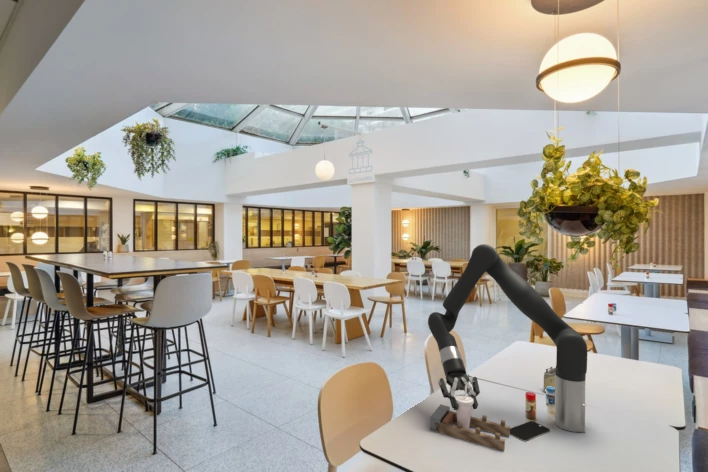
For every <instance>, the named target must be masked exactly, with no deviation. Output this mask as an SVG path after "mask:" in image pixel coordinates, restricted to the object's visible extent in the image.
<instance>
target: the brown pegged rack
mask: <svg viewBox="0 0 708 472" xmlns="http://www.w3.org/2000/svg"><path fill="white" fill-rule="evenodd" d="M487 419H488V417H487V415H482V418H479V417H475V416H471V418H470V425H469V429H465V428H462V423H460V422H457V413H456V411H452V410H450V411H449V412H448V414H447V415H446V416H445V418H444V419H443V420H442V422H441V423H440V425H437V426H438V428H439V429H438V430H439V431H438V430H437V428H436V427H437V426H436V423H435V426H436V427H435V431H434V432H437V433H439V432H440V433H441V434H444V435H447V436H450V437H454V438H457V439H460V440H464V441H467V442H471V443H474V444H478V445H481V446H484V447H487V448H491V449H494V450H498V451H501V452H505V449H506V448H505V447H506V439H505V438H509V437H510V436H511V435H510V428H511V427H510V426H509V425H507V424H506V420H503V419H501V420H500V423H498V422H495V421H492V420H491V421H490V420H487ZM454 423H455V424H456V425H453V424H454ZM437 424H438V423H437ZM470 428H474V429H475V430H472V429H470ZM436 430H437V431H436ZM481 431H484V432H488V433H491V434H495V436H494V435H490V434H488V433H487V434H486V433H483V432H481ZM501 436H503V437H505V438H501Z"/></svg>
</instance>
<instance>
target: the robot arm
mask: <svg viewBox="0 0 708 472" xmlns="http://www.w3.org/2000/svg"><path fill="white" fill-rule="evenodd" d="M485 273H487V274H488V275H489V276H490V277H491V278H492V279H493V280H494V281H495V282H496V283H497V284H498V286H499V288H500V289H501V291H502V292H503V293H504V295H506V297H507V298H508V299H509V301H510V302H511V303H512V304H513V305H514V306H515V307H516V308H517V309H518V310H519V311H520V312H521V313H522V314H523V315H524V316H526V317H527V318H528V319H529V320H530V321H532V322H534V323H535V324H536V325H538V326H539V327H540V328H541V329H542V330H543V331H544V332H545V333H546V334H547V335H548V337H549V338H550V339H551V341H552V342H553V343H554V345H555V346H556V357H555V358H556V363H555V367H554V368H555V392H554V424H555V425H556V426H557V427H558V428H560V429H562V430H565V431H567V432H568V431H569V432H574V433H586V375H587V372H588V371H587V370H588V344H587V342H586V341H585V339H584V336H582V334H580V333H579V332H578V331H577V330H575V329H574V328H573V327H571V326H570V325H569V324H568V323H567V322H566V321H565V320H563V318H561V317H560V316H558V314H557V313H556V312H555V311H554V310H553V308H552V307H551V306H550V305H549V303H548V302H547V300H546V299H544V298H543V296H542V295H541V294H540V293H539V292H538V291H537V290H536V289H535V288H534V287H533V286H532V285H531V284H530V283H529V282H528V281H527V280H526V279H524V278H523V277H522V276H520V275H519V274H518V273H516V272H515V271H514V270H513V269H512V268H511V267H510V266H509V265H508V264H507V263H506V262H505V261H504V260H503V258H501V256H500V255H499V253H498V252H497V251H496V249H495V248H494V247H493V246H492V245H489V244H485V243H484V244H479V245H477V246H475V248H473V250H472V252H471V254H470V258H469V260H468V263H467V265H466V267H465V269H464V271H463V272H462V274H461V276H460V277H459V279H458V280H457V281H456V283H455V284H454V285H453V287H452V288H451V289H450V291H449V293H448V294H447V296H446V297H445V299H444V300H443V302H442V307H443V309H445V313H440V312H437V311H434V312H432V313H430V315H429V316H428V318H427V319H428V320H427V325H428V328H429V330H430V332H431V333H430V334H432V337H433V339H434V340H435V342H436V344H437V349H438V351H439V356H440V362H441V364H442V369H443V373H444V375H445V378H442V377H440V379H439V380H438V386H439V388H440V391H441V394H442V397H443V398H445V399H448V400H449V402H450V405H451V408H452V409H453V411H456V410H457V409H458V405H457V402H456V398H455V395H456V392H458V391H463V392H465V386H467V396H470V397H472V398H473V400H474V403H473V404H472V410H476V409H478V407H479V402H478V399H477V397H478V396H479V395H480V394H481V391H480V390H481V389H480V386H479V383H478V378H477V377H476V376H473V377H469V376H468V375H467V370H466V367H465V363H464V361H463V358H462V354H461V352H460V350H459V347H458V344H457V340H456V338H455V336H454V335H453V334H451V333H450V332H451V331H452V330H453V329H454V328H455V326H456V324H457V320H458V317H459V314H460V311H461V310H462V308H463V307H464V305H465V303H466V302H467V301H468V299H469V297H470V296H471V294H472V292H473V290H474V288H475V286H476V285H477V284H478V282H479V281H480V279H481V278H482V277H483V275H484V274H485ZM447 385H448V386H450V387H449V390H448V388H447Z"/></svg>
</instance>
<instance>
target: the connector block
mask: <svg viewBox="0 0 708 472" xmlns="http://www.w3.org/2000/svg"><path fill="white" fill-rule="evenodd" d="M450 409H451V407H450V406H448V405H445V404H440V405H439V406H438V407H437V408H436V409H435V411H433V413H432V414H431V415H430V417H429V419H430V420H429V421H430V422H429V430H430V431H433V432H436V431H437V430H438V429H439V428H438V426H437V425H440V423H441V422H442V420H443V419H444V418H445V416H446V415H447V414H448V412H449V411H451V410H450ZM435 423H436V426H437V427H436V426H435ZM437 423H438V424H437ZM435 427H436V428H437V430H436V431H435ZM438 431H439V430H438ZM438 433H440V432H438Z"/></svg>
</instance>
